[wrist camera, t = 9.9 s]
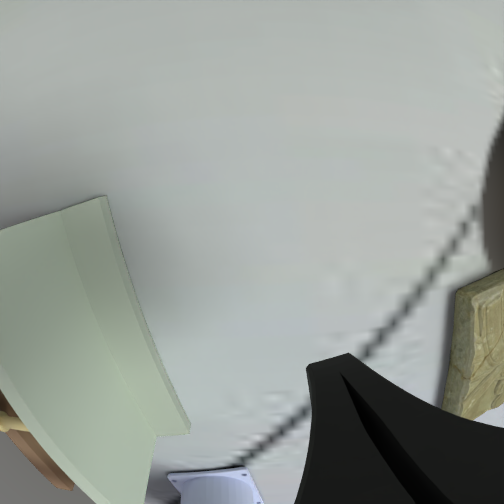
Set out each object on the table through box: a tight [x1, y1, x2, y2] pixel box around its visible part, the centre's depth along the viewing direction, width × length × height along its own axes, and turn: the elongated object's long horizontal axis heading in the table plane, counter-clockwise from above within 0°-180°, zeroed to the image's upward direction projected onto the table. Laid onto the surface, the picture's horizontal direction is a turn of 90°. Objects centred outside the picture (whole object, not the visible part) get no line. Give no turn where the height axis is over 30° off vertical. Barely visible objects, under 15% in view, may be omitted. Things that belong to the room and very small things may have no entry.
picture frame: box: [0, 389, 75, 491], centre depth 14 cm, size 16×2×6 cm, turn 12°
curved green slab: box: [0, 195, 191, 504], centre depth 14 cm, size 18×8×10 cm, turn 12°
